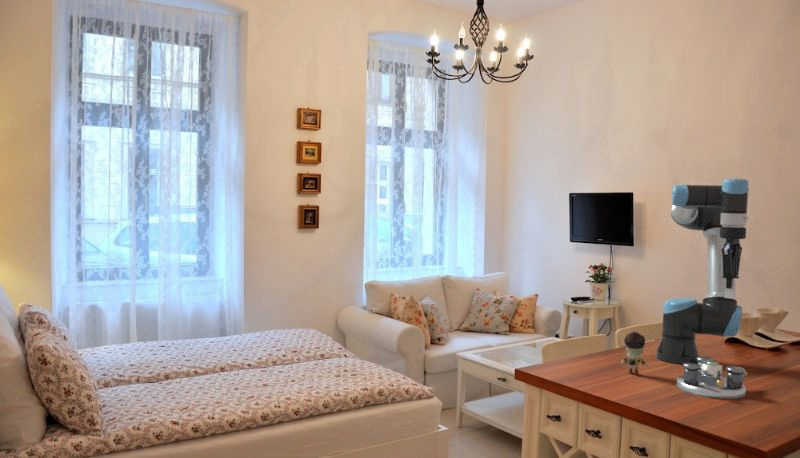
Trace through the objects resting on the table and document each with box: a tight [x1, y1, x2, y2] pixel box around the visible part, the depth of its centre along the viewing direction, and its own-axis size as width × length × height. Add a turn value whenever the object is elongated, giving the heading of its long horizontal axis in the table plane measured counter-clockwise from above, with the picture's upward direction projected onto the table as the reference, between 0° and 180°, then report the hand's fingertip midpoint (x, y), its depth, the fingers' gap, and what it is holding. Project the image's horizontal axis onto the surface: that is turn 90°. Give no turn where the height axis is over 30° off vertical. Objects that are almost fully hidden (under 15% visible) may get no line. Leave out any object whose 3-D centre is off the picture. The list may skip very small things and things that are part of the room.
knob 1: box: [696, 355, 719, 373], centre depth 213 cm, size 13×5×6 cm, turn 136°
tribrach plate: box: [676, 361, 747, 400], centre depth 203 cm, size 20×20×9 cm
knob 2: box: [682, 362, 724, 387], centre depth 198 cm, size 13×5×6 cm, turn 31°
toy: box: [620, 331, 648, 375], centre depth 219 cm, size 9×7×15 cm
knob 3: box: [725, 365, 748, 389], centre depth 201 cm, size 13×5×6 cm, turn 137°
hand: (729, 298), depth 207 cm, fingers closed
